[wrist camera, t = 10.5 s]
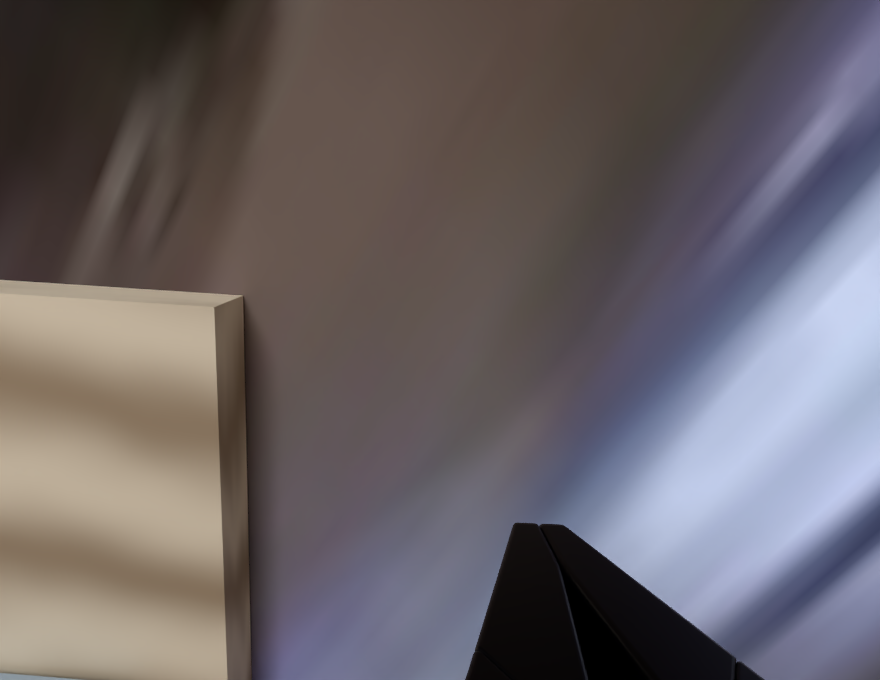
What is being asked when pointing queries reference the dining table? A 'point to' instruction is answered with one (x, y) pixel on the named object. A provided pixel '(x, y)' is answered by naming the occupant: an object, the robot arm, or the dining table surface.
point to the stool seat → (123, 484)
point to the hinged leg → (28, 677)
